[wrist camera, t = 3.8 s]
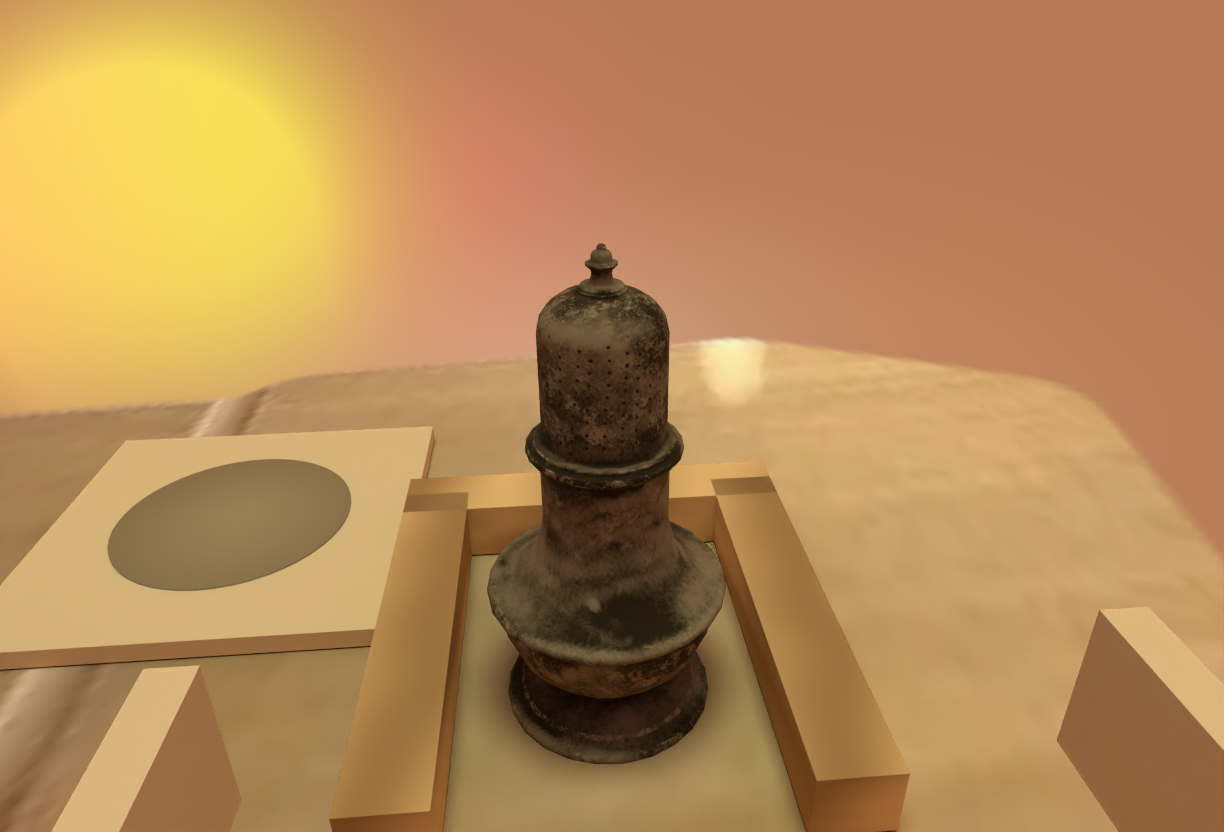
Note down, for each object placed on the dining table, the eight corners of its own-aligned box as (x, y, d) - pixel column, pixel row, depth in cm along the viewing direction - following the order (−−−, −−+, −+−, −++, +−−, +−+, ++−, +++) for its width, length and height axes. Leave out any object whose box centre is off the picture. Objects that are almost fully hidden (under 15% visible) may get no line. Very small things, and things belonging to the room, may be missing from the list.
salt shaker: (588, 584, 26) (577, 196, 21) (758, 664, 23) (798, 233, 18) (451, 701, 22) (391, 254, 17) (635, 818, 19) (637, 315, 14)
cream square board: (-54, 673, 23) (-63, 653, 23) (130, 453, 34) (125, 438, 34) (391, 644, 24) (388, 625, 24) (434, 439, 35) (432, 424, 34)
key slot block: (343, 876, 18) (329, 819, 17) (416, 523, 29) (410, 479, 29) (897, 829, 19) (909, 773, 18) (758, 504, 30) (762, 461, 29)
